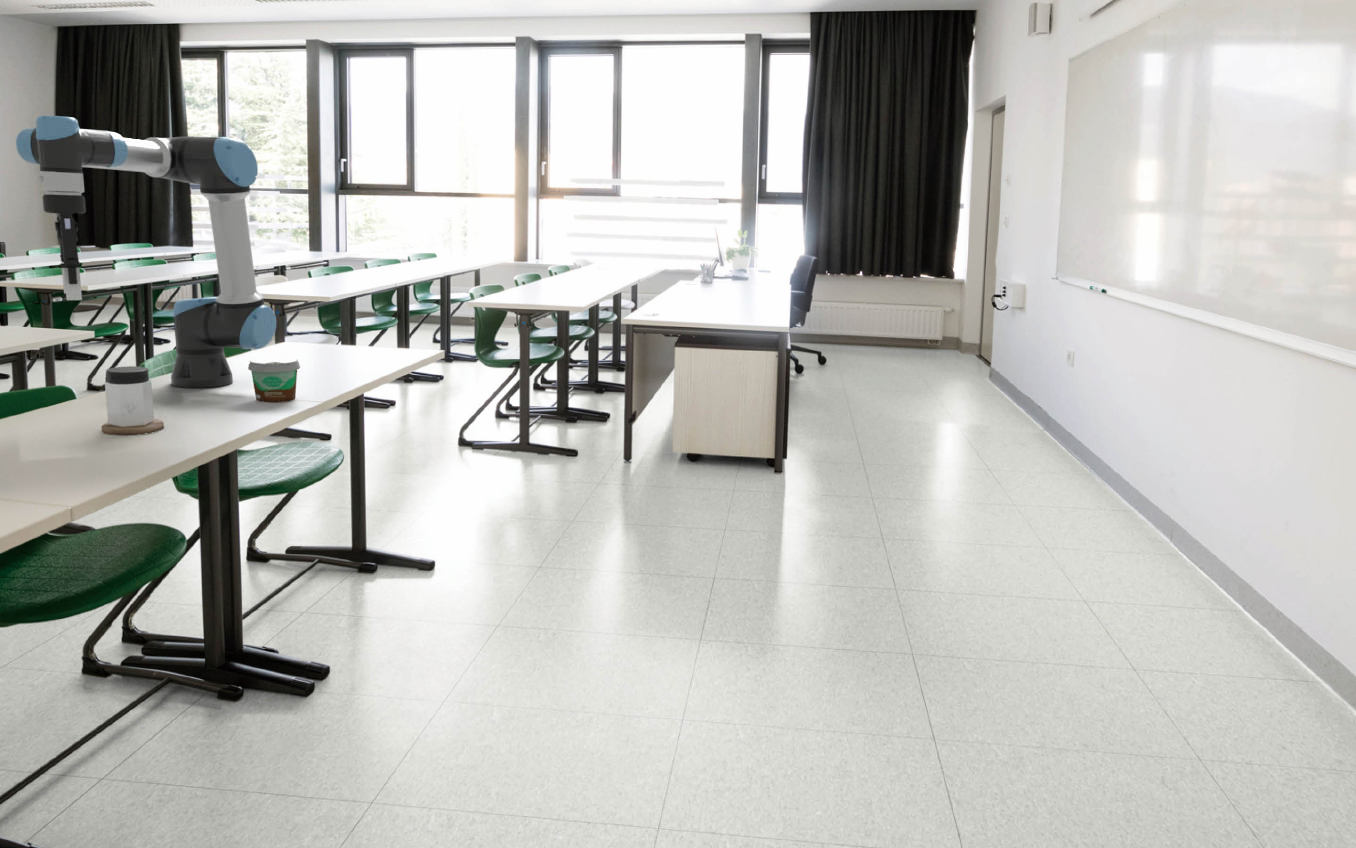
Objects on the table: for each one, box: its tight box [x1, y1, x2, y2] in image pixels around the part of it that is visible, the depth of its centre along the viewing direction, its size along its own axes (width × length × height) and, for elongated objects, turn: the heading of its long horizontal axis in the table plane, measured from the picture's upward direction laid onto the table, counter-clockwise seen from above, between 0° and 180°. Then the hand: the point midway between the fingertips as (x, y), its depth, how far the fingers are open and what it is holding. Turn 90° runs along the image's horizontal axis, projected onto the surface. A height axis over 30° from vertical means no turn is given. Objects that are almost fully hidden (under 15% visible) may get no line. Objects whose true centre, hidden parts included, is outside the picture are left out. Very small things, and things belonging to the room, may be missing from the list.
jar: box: [104, 365, 155, 427], centre depth 221 cm, size 9×8×12 cm
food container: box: [247, 359, 301, 404], centre depth 255 cm, size 12×6×10 cm, turn 117°
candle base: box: [101, 418, 165, 436], centre depth 222 cm, size 12×12×1 cm
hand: (72, 296), depth 214 cm, fingers open, 13 cm apart
